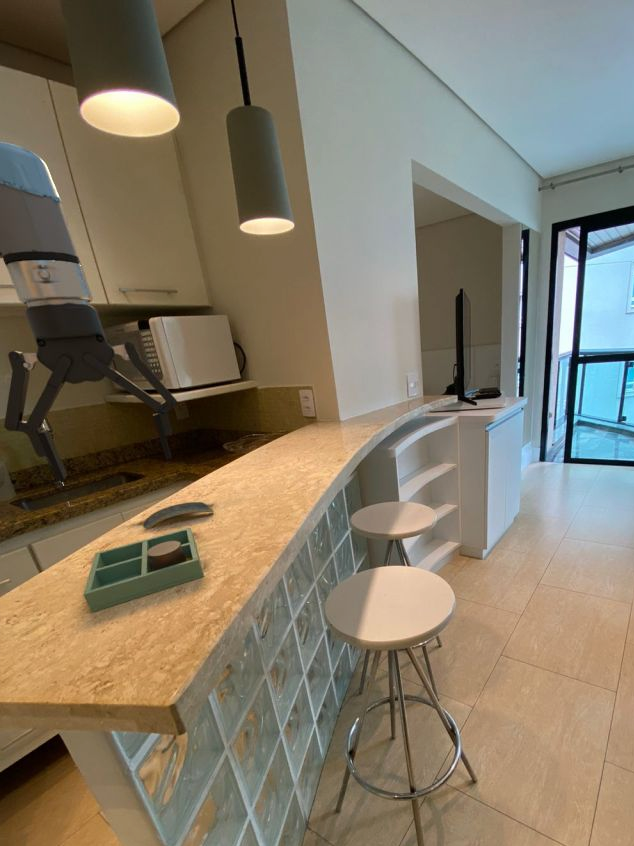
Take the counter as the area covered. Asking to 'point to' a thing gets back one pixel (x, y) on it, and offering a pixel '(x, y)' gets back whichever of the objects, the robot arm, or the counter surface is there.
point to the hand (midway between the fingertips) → (118, 467)
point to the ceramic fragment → (175, 512)
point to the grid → (138, 571)
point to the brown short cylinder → (166, 555)
